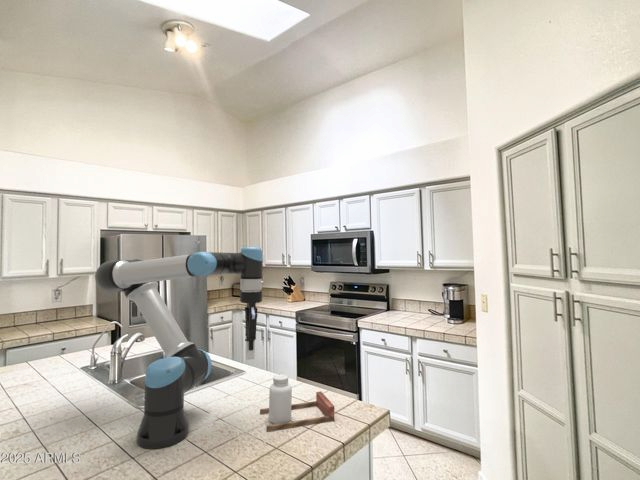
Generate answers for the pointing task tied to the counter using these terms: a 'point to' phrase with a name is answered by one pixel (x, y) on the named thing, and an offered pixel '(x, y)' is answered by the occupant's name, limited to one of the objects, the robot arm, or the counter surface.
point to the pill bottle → (280, 400)
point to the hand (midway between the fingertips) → (250, 358)
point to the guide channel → (324, 407)
